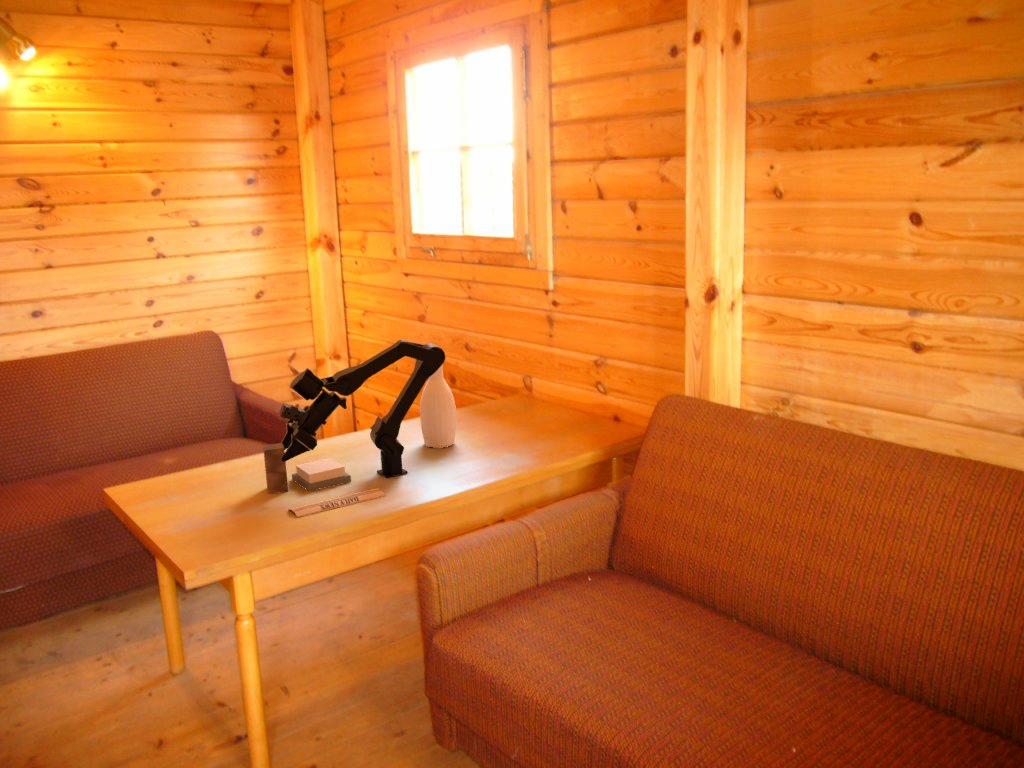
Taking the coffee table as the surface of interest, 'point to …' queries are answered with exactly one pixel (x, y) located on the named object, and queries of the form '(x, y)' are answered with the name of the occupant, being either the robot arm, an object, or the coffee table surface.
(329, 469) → the tower top slab
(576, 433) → the coffee table surface
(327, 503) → the newspaper
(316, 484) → the tower base slab
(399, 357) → the robot arm
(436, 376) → the bottle
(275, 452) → the walnut block
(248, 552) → the coffee table surface
